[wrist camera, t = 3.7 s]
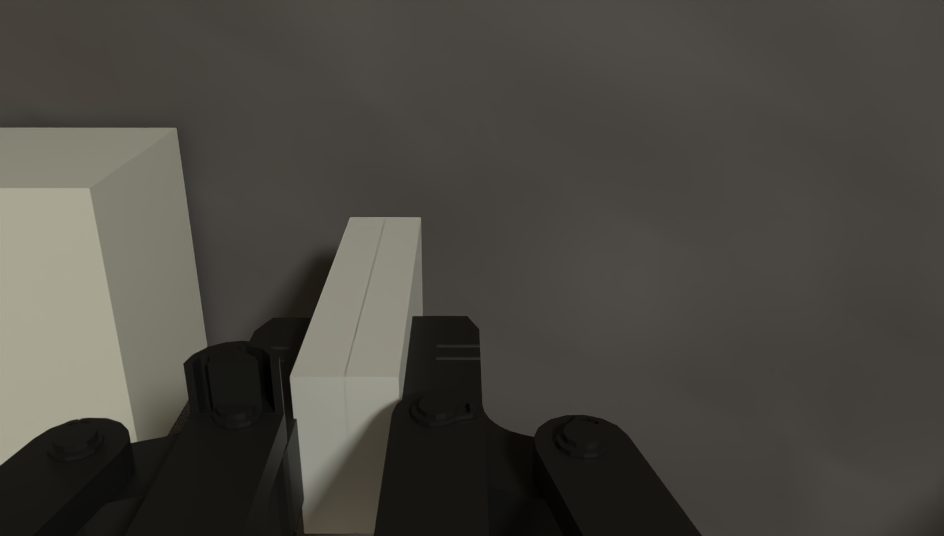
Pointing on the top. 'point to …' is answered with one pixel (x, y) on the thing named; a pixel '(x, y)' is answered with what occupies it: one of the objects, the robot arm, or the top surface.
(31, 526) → the robot arm
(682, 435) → the top surface
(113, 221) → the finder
